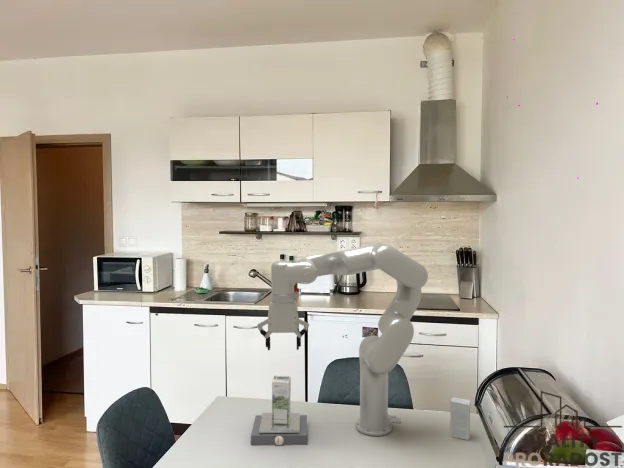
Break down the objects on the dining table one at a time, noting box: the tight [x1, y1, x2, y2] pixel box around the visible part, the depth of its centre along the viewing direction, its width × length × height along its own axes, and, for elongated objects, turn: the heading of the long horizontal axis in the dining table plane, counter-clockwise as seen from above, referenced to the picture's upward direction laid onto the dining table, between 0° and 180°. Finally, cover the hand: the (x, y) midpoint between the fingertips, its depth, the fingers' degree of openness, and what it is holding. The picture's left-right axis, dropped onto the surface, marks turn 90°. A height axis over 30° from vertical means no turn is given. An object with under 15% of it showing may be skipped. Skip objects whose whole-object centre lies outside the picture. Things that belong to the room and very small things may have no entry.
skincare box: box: [449, 396, 471, 441], centre depth 145 cm, size 6×4×12 cm
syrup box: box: [271, 375, 292, 424], centre depth 145 cm, size 6×6×14 cm
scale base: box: [250, 414, 308, 446], centre depth 145 cm, size 18×15×3 cm
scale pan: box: [259, 412, 301, 433], centre depth 146 cm, size 13×12×1 cm
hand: (283, 348), depth 146 cm, fingers open, 9 cm apart
